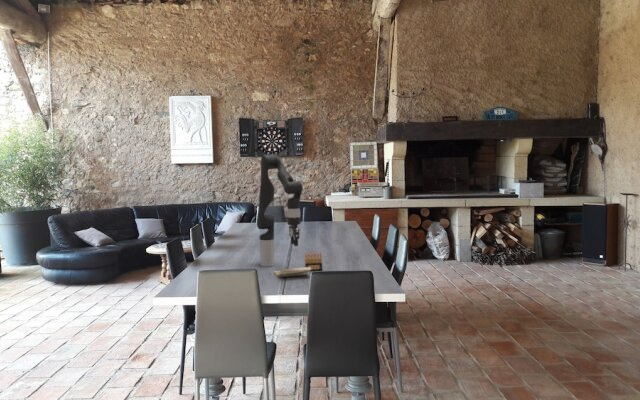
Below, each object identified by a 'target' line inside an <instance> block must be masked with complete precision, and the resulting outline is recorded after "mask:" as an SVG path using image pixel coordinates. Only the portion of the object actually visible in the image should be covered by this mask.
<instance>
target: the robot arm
mask: <svg viewBox="0 0 640 400" xmlns="http://www.w3.org/2000/svg"><path fill="white" fill-rule="evenodd" d="M275 169H276V170H277V172H276V173H277V174H276V175H277V179H278V180H279V182H280V184H282V186H283V191H284V193H286V194H287V195H293V197H290V198H288V199H287V212H286V214H287V217H286V219H287V225H288V232H289V235H288V236H289V238H290V244H291V245H293V246H294V247H298V246H299V239H300V228H299V227H298V226H299V225H301V209H300V208H301V207H300V202H301V198H302V193H303V184H302V183H301V182H300V181H294V178H293V177H292V175H291V174H290V173H289V172H288V171H287V169H286V167H285V165H284V163H283V161H282V160H281V158H280V157H279V154H276V153H269V154H268V153H267V154H262V156H261V159H260V187H259V198H258V211H257V217H256V226H257V229H259V230H267V231H266V232H264V233H262V234H260V235H259V258H260V260H259V261H260V267H273V266H275V218H274V215H273V214H265V212H266V210H267V209H268V207H269V206H270V205H271V204H272V203H273V200H274V198H275V186H274V184H273V182H272V180H271V179H270V177H269V170H275Z"/></svg>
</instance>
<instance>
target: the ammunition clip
mask: <svg viewBox="0 0 640 400" xmlns="http://www.w3.org/2000/svg"><path fill="white" fill-rule="evenodd" d="M322 256H323V255H322V252H321V251H320V252H318V251H317V252H316V251H314V253H313V252H311V253H310V252H308V253H307V251H306V252H305V258H304V264H305V265H304V267H311V270H310V272H323V257H322Z"/></svg>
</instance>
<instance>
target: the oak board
mask: <svg viewBox="0 0 640 400" xmlns="http://www.w3.org/2000/svg"><path fill="white" fill-rule="evenodd" d="M279 272H280V270H279V271H278V270H276V271H273V275H274V276H275V277H276V278H279V277H278V273H279Z"/></svg>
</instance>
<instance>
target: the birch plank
mask: <svg viewBox="0 0 640 400" xmlns="http://www.w3.org/2000/svg"><path fill="white" fill-rule="evenodd" d="M310 270H311V267H305V266H304V267H294V268H284V269H283V268H282V269H280V270H279V271H280V272H279V273H278V277H277V278H282V277H283V278H284V277H285V278H286V277H295V276H306V275H308V274H309V273H310V272H311V271H310Z"/></svg>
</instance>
